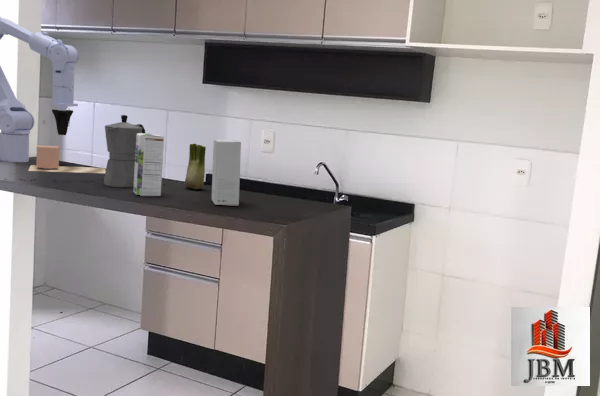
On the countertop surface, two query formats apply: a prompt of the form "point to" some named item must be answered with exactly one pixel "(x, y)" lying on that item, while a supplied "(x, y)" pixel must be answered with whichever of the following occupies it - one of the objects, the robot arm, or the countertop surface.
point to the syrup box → (148, 164)
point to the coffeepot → (121, 153)
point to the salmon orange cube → (47, 156)
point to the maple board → (70, 169)
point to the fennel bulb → (196, 167)
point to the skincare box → (226, 172)
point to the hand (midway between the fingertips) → (62, 134)
